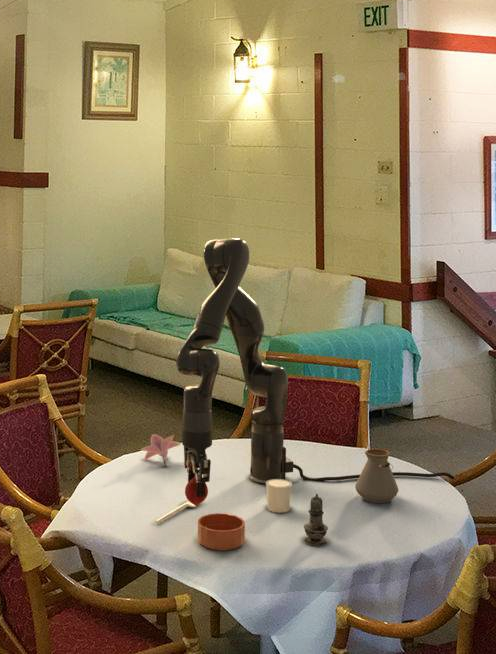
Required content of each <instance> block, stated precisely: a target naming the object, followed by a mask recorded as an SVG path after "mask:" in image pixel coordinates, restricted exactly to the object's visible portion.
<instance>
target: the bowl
mask: <svg viewBox="0 0 496 654" xmlns="http://www.w3.org/2000/svg"><path fill="white" fill-rule="evenodd" d="M245 533H246V521H245V520H244V519H243V518H242V517H241V516H238V515H236V514H232V513H222V512H221V513H219V512H217V513H216V512H215V513H208V514H205V515H202V516H201V517H200V518H198V520H197V542H198V543H199V544H200V545H202V546H203V547H205V548H208V549H211V550H214V551H230V550H235V549H238V548H239V547H242V545H243V544H244V543H246V542H245V539H246V538H245V537H246V534H245Z"/></svg>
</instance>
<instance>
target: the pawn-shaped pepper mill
mask: <svg viewBox="0 0 496 654" xmlns="http://www.w3.org/2000/svg"><path fill="white" fill-rule="evenodd" d="M309 507H310V508H309V510H308V513H309V521H308V522H306V523H305V524H303V529H304V532H305V535H306V536H307V537H305V538H304V540H303V541H304V543H305V544H307V545H309V546H315V547H320V546H324V545H326V544H327V540H326V539H325V538H324V537H326V535H327V532H328V530H329V527H328V525H327V524H325V523H324V520H323V515H324V514H325V512H324V510H323V499H322V498H321V497H320V496H319V494H318V493H315V496H313V497H311V499H310V506H309Z"/></svg>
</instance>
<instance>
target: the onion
mask: <svg viewBox="0 0 496 654" xmlns="http://www.w3.org/2000/svg"><path fill="white" fill-rule="evenodd" d="M184 495H185V497H186V500H187V501H190V502H191V503H192V504H194V505H196V507H198V506H199V505H201V504H202V503H203V502H205V500H207V498H208V495H209V488H208V486H207V484H206V492H205V496H204V497H197V496H196V475H195V477H194V478H193V479H191V480H190V481H189V482H188V481H187V483H186V485H185V489H184Z"/></svg>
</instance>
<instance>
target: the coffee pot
mask: <svg viewBox="0 0 496 654" xmlns="http://www.w3.org/2000/svg"><path fill="white" fill-rule="evenodd" d="M364 455H365V456H366V458H367V461H366V462H365V464H364V467H363V469H362V470H361V473H360V474H361V475H360V474H359V475H360V477H359V478H357V481H356V482H355V484H354V488H355V491H356V493H357V494H358V495H359V496H360V497H361V498H362V499H363V500H364V501H366V502H369V503H373V504H386V503H389V502H390V501H391V500H392V499H394V498H395V497H396V496H397V495H398V493H399V487H398V484H397V481H396V478H395V476H393V473H392V472H393V471H392V470H393V469H394V466H393V464H391V463H390V462H389V461H388V459H389V457H390V455H391V452H390V451H389V450H386V449H382V448H369V449H367V450H365V452H364ZM391 466H392V468H391Z"/></svg>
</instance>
